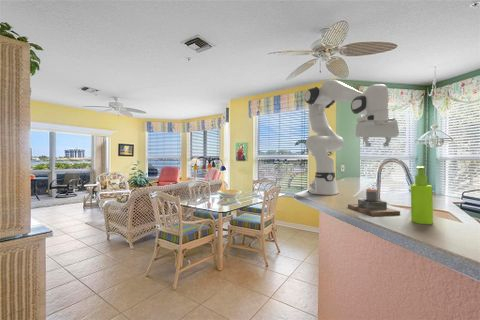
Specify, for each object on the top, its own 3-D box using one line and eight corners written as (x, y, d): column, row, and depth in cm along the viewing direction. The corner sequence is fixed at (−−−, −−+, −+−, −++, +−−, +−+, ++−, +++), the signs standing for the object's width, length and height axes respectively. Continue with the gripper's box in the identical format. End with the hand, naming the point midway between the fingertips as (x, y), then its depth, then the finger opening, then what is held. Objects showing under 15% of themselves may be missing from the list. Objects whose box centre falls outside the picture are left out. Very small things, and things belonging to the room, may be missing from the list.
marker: (364, 206, 95) (364, 188, 95) (372, 206, 95) (372, 188, 95) (370, 208, 91) (370, 190, 91) (379, 208, 91) (379, 189, 91)
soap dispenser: (409, 222, 75) (409, 166, 76) (412, 218, 80) (411, 165, 80) (432, 226, 71) (431, 166, 71) (433, 221, 76) (432, 165, 76)
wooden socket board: (347, 207, 100) (347, 197, 100) (371, 206, 102) (371, 197, 102) (372, 216, 85) (372, 204, 85) (400, 214, 86) (399, 203, 86)
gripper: (391, 119, 107) (391, 146, 108) (353, 118, 105) (353, 146, 106) (402, 117, 101) (402, 146, 102) (362, 116, 99) (362, 146, 100)
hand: (377, 146), depth 104 cm, fingers open, 8 cm apart
